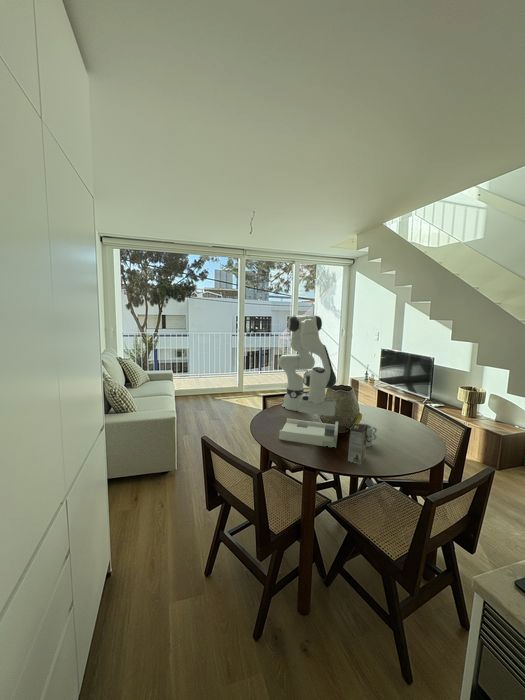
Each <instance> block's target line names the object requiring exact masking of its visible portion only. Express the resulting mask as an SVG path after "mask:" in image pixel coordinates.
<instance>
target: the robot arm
mask: <svg viewBox="0 0 525 700" xmlns="http://www.w3.org/2000/svg"><path fill="white" fill-rule="evenodd" d="M286 324H287V329H288V330H289V331H290V332H292V333H291V339H290V348H291V349H292V350H294V352H297V353H296V354H295V353H287V354H281V355H280V357H279V358H278V363H277V364H278V366H279V367H280V369H282V370H283V371H284V372H285V374H286V376H287V377H286V378H287V388H286V393H285V395H284V397H283V399H284V400H283V403H282V404H281V407H283V408H284V407H285V408H284V409H286V410H289V411H297V412H299V413H306V414H310V416H311V418H312V422H318V423H319V419H320V418H321V416H327V417H334V416H335V415H336V414H335V413H336V406H337V401H336V400H335V399H333V398H327V397H326V389H331V388H333V387H334V386H335V385H336V383H337V377H336V376H337V375H336V373H335V370H334V369H333V368H334V367H333V365H332V362H331V358H330V355H329V352H328V349H327V346H326V345H325V344H324V343H322V341H321V339H320V334H319V332H320V330H322V326H323V321H322V318H321V317H320V316H319V315H312V314H311V315H310V314H309V315H308V314H300V315H298V314H297V315H296V314H295V315H290V316H289V317H288V319H287V323H286ZM310 353H311V354H310ZM312 354H314V355H316V356H318V358H320V360H321V363H322V364H321V365H322V367H321V366H315V363H316V361H315V358H314V356H312ZM314 366H315V367H314ZM297 370H298V371H300V370H302V371H305V372H304V374H303V376H302V375H301V374H298V373H296V371H297ZM304 386H306V387H307V388H309V392H305V391H304ZM315 415H317V417H315Z"/></svg>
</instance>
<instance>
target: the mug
mask: <svg viewBox="0 0 525 700" xmlns="http://www.w3.org/2000/svg"><path fill="white" fill-rule="evenodd" d="M359 424H360V425H365V426H368V427H367V439H366V448H370V447H372V445H373V441H375V440H376V439H377V434H376V433H377V431H378V429H377V428H376V427H375V426H372V425H371V424H368V423H363V422H362V423H361V422H360V423H359Z"/></svg>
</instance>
